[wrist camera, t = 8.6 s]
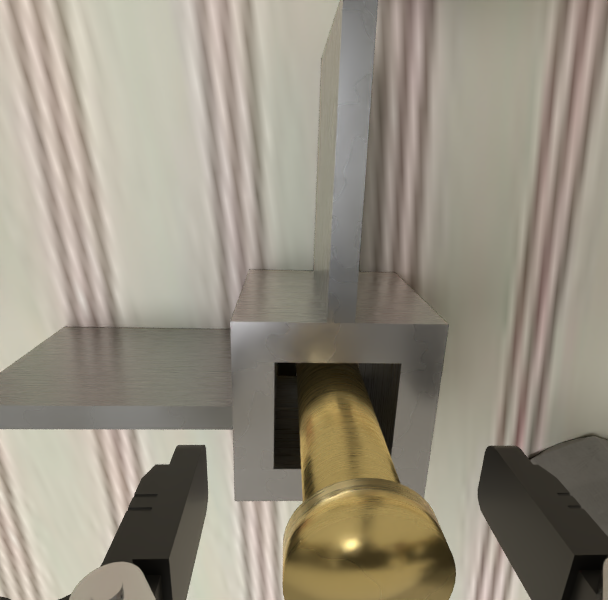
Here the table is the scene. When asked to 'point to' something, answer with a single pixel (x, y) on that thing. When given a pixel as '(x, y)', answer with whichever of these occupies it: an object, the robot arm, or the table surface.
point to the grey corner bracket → (266, 328)
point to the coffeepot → (581, 473)
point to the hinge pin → (356, 504)
